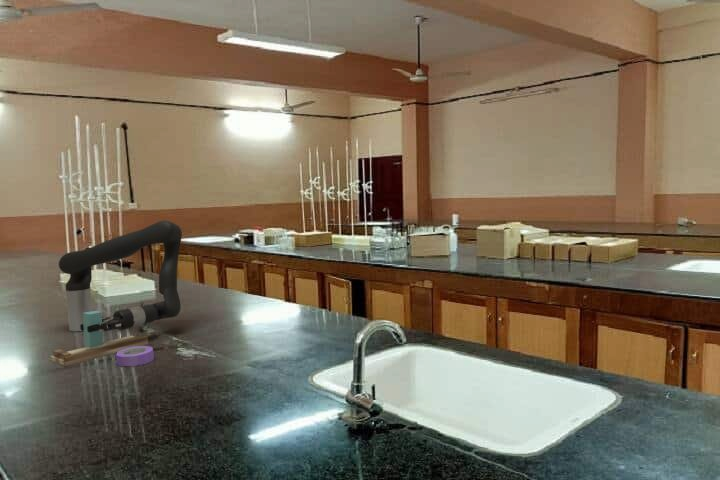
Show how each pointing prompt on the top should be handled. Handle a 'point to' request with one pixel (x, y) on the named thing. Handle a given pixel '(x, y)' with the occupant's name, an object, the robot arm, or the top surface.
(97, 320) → the block
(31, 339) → the top surface
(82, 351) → the board
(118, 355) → the masking tape
